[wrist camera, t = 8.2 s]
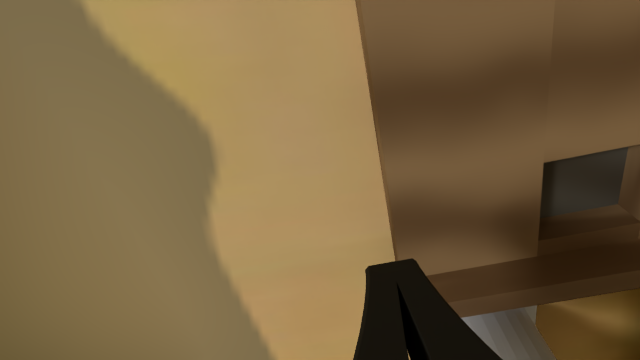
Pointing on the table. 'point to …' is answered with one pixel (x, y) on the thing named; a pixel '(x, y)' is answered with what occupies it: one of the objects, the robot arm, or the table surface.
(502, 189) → the trap board
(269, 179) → the table surface
